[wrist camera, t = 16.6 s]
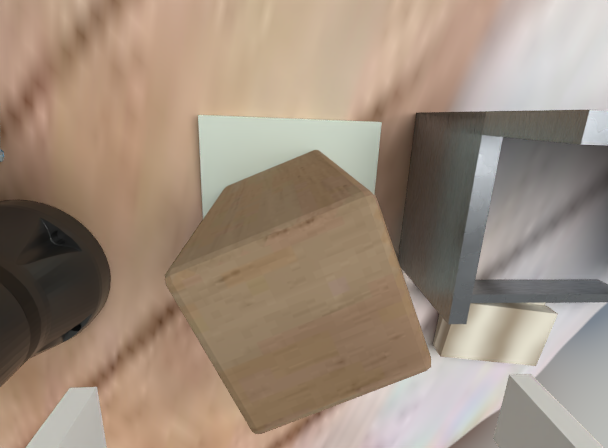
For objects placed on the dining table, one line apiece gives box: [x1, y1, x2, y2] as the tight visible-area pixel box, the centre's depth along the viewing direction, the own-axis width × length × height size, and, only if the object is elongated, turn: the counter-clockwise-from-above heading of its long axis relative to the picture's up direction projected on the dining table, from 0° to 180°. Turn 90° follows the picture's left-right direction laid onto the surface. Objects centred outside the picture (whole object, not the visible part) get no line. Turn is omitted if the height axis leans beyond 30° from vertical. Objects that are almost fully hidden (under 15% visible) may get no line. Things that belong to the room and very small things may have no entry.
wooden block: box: [165, 150, 431, 434], centre depth 26 cm, size 10×10×20 cm
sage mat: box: [198, 115, 382, 219], centre depth 36 cm, size 17×18×1 cm
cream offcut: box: [434, 303, 558, 366], centre depth 41 cm, size 12×7×2 cm, turn 80°
